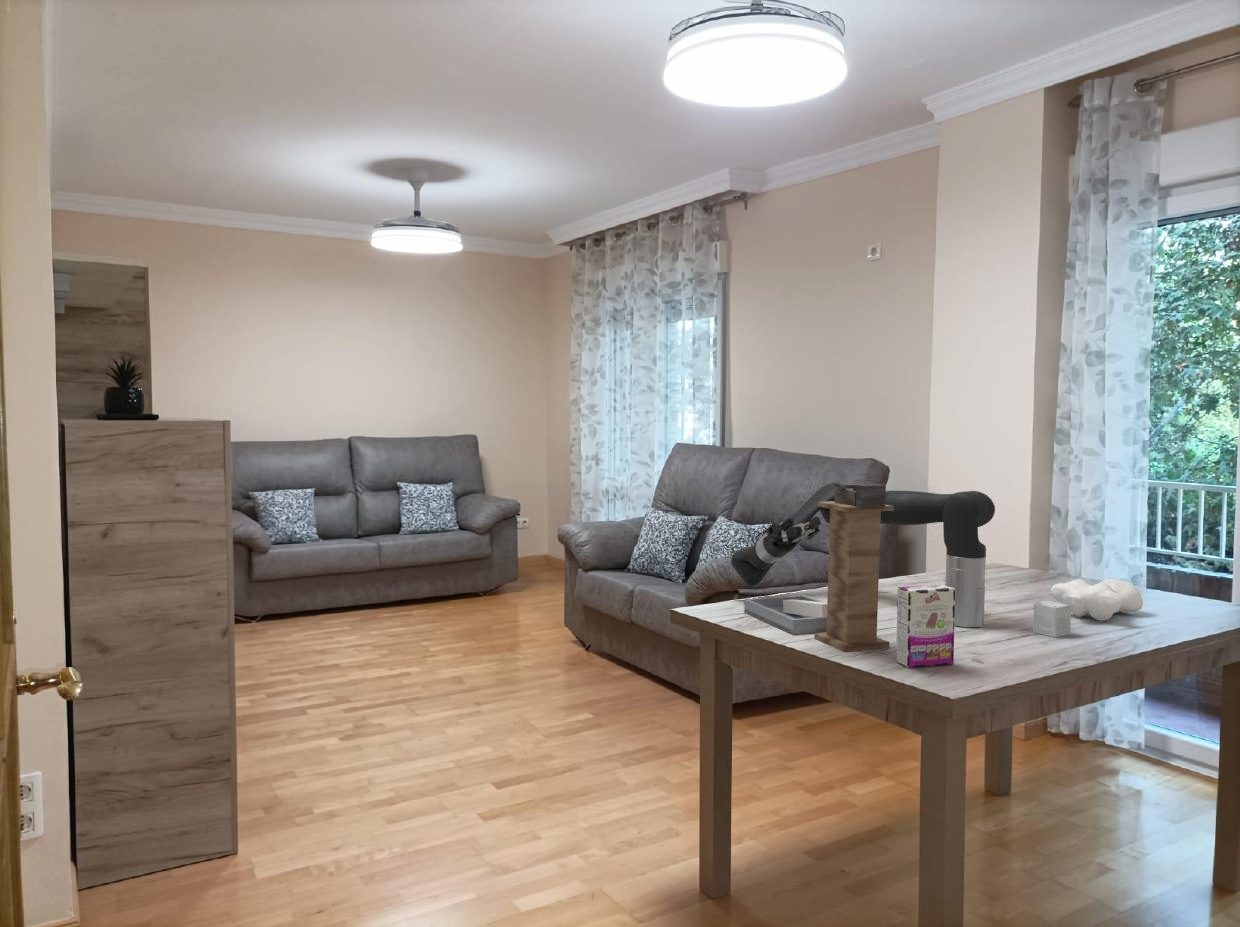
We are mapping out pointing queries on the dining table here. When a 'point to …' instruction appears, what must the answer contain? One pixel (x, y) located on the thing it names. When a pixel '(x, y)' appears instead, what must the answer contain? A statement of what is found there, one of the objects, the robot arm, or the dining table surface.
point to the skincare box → (1052, 619)
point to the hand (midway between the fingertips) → (805, 520)
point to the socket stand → (854, 567)
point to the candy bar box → (925, 625)
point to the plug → (805, 608)
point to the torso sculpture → (1098, 597)
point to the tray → (784, 615)
